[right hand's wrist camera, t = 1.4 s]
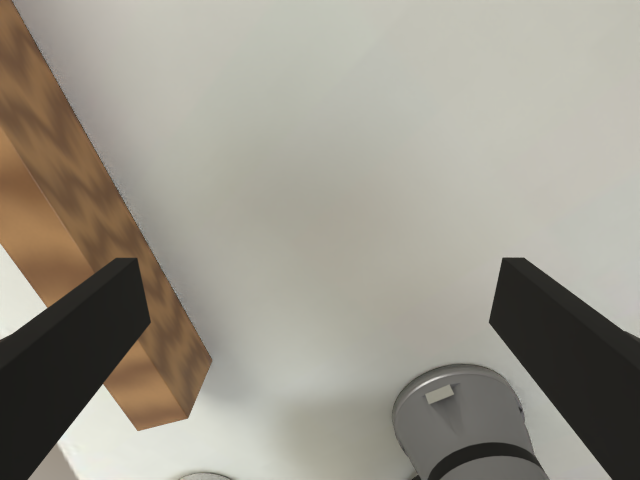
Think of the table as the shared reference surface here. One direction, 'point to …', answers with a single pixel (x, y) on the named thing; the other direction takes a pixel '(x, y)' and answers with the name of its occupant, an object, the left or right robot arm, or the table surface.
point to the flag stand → (204, 477)
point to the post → (83, 230)
